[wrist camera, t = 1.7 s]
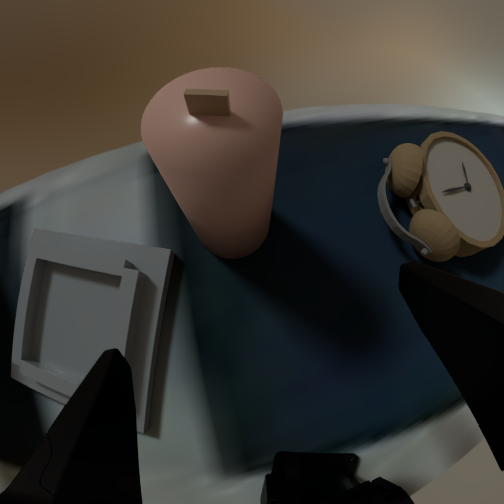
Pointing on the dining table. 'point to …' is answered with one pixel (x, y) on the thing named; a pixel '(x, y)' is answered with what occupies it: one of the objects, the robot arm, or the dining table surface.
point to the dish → (89, 313)
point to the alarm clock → (444, 197)
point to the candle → (218, 154)
